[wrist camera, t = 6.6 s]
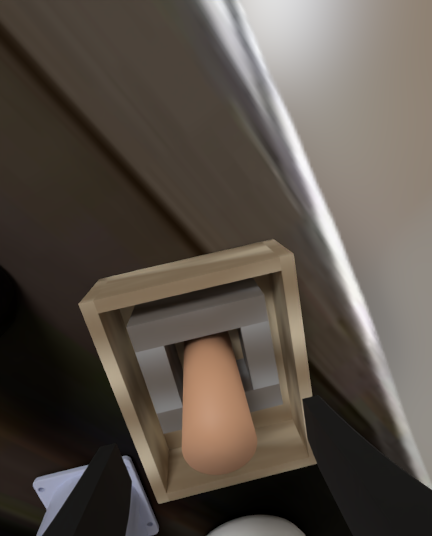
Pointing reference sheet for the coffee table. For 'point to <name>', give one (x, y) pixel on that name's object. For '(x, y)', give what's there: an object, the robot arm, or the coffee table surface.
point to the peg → (215, 408)
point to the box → (198, 325)
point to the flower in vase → (257, 527)
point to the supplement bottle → (7, 303)
